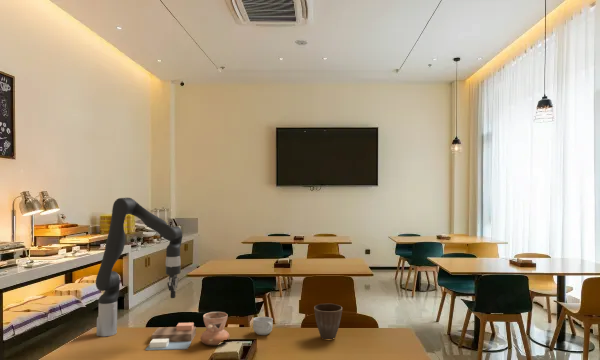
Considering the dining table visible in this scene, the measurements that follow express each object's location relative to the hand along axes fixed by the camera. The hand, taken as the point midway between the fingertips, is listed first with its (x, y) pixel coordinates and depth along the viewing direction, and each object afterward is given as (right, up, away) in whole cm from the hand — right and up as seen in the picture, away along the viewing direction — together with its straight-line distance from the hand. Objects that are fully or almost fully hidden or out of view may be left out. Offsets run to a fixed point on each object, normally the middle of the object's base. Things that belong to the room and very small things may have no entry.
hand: (173, 297), depth 213 cm
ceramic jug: (+24, -21, -6) cm, 32 cm away
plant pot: (+82, -22, +1) cm, 85 cm away
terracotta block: (+6, -17, +3) cm, 18 cm away
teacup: (+47, -22, +6) cm, 53 cm away
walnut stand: (+1, -21, 0) cm, 21 cm away
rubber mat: (+2, -21, -11) cm, 24 cm away
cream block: (-3, -18, -12) cm, 22 cm away
